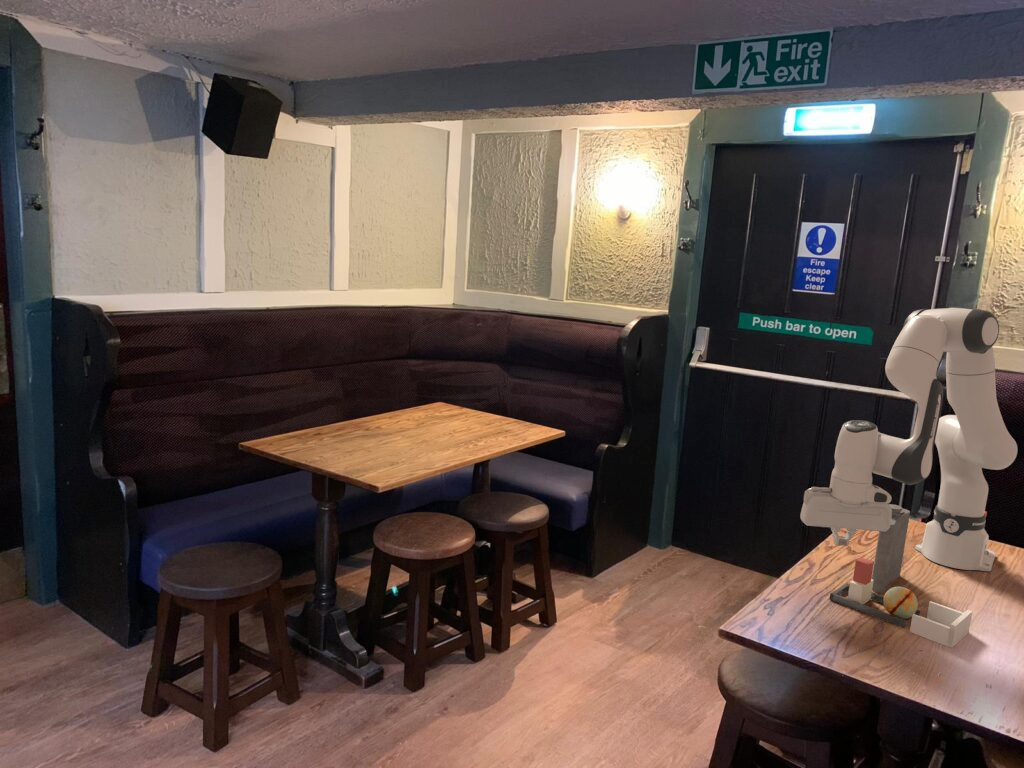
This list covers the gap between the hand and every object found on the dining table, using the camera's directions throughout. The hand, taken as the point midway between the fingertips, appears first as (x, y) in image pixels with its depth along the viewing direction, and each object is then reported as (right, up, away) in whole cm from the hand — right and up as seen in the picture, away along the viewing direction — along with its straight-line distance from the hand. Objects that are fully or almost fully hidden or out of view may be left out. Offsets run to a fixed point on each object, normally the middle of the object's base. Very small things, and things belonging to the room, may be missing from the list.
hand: (840, 544), depth 185 cm
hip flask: (+15, -12, +11) cm, 22 cm away
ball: (+10, -15, -8) cm, 19 cm away
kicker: (+4, -13, -2) cm, 14 cm away
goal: (+16, -16, -14) cm, 27 cm away
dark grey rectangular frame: (+6, -14, -4) cm, 15 cm away
